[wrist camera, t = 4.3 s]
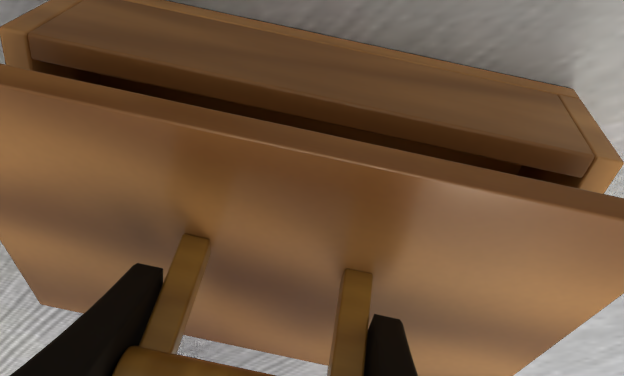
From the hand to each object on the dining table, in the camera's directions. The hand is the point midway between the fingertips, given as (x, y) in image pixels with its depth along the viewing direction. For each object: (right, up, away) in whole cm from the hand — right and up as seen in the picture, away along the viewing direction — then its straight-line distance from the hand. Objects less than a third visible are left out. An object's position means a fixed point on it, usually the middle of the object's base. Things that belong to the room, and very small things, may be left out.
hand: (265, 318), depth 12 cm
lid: (0, +1, +2) cm, 2 cm away
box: (+1, +4, +6) cm, 8 cm away
